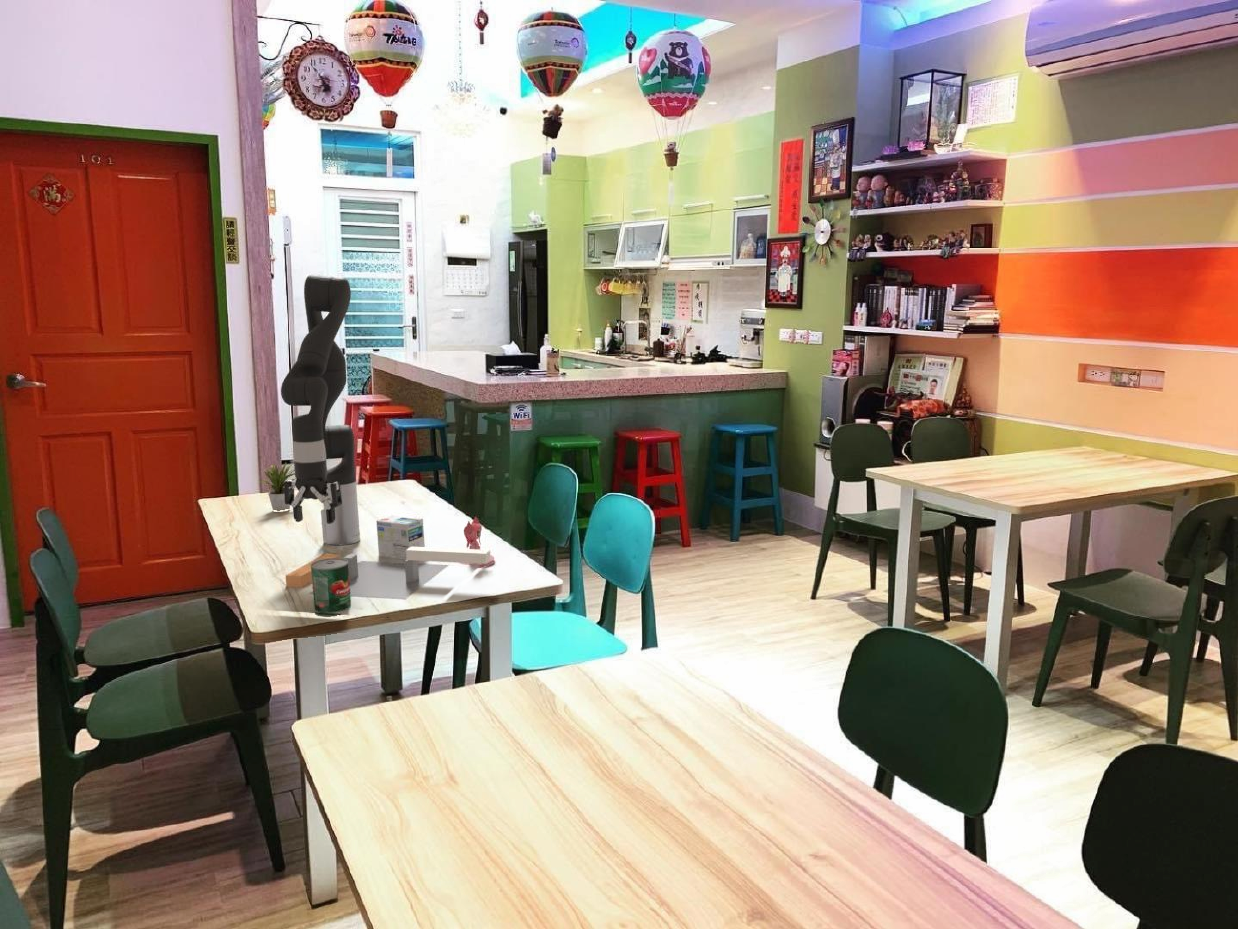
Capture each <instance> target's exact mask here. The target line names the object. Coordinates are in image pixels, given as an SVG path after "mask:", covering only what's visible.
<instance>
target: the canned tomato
mask: <svg viewBox="0 0 1238 929" xmlns="http://www.w3.org/2000/svg"><path fill="white" fill-rule="evenodd" d="M311 573H312V581H311V582H312V583H311V584H312V591H313V594H312V595H313V607H314V610H315V612H314V615H316V616H318V617H323V618H331V616H333V617H338V616H337V615H339V616H342V615H341V614H342V613H338V612H341V611H345V610H347V609H349V608H350V607H351V605H352V598H351V597H352V596H350V585H349V584H350V583H349V569H348V561H347V560H346V559H343V558H342V557H340V558H328V559H322V560H318V561H315V562H313V563H312V564H311ZM336 612H337V613H336Z"/></svg>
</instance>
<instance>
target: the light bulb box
mask: <svg viewBox="0 0 1238 929" xmlns="http://www.w3.org/2000/svg"><path fill="white" fill-rule="evenodd" d="M375 523H376V533H377V534H376V536H377V547H378V556H380V557H383V558H384V557H386V558H393V559H399V560H407V558H406V550H407V549H408V548H410V547H426V545H425V532H424V519H423V518H418V517H408V516H398V515H389V516H387V517H383V518H380V519H377V520H376V522H375Z"/></svg>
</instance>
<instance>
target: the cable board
mask: <svg viewBox="0 0 1238 929" xmlns="http://www.w3.org/2000/svg"><path fill="white" fill-rule="evenodd" d="M342 559H346V560H347V561H348V569H349V583H350V584H349V585H350V596H351V597H359V598H376V599H394V600H395V599H396V600H406V599H408V598H409V597H410V596H412V595H413V594H414V593H415V592H417V591H418V590H419V589H420V588H421V587H423V586H424V585H425V584H427V583H428V582H429V581H430V580H432V579H433V578H434V577H436V576H437V575H439V573H441V572H442V571H443V570H445V569H446V568H447V567H448V566H449V564H438V563H437V564H434V563H433V564H432V563H419V561H414V560H406V559H404V562H394V561H393V562H390V561H374V560H373V561H372V560H360V561H359V562H358V555H357V554H349V553H348V554H347V555H345V556H344V557H343V558H342ZM308 594H309V595H313V590H312V591H310V592H309V593H308Z"/></svg>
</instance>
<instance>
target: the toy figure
mask: <svg viewBox="0 0 1238 929" xmlns="http://www.w3.org/2000/svg"><path fill="white" fill-rule="evenodd" d="M463 535H464V538H465V540H466V542H467V543H466V549H476V550H482V549H481V545H482V544H481V536H482V525H481V523H480V520H479V519H478V517H477V516H475V517H474V519H473V520H472V522H470V521H469V520H468V521H467V524H466V526H464V529H463ZM459 564H461V565H467V566H475V565H476V566H477V565H479V566H477V569H480V568H485V567H489V566H491V565H494V564H495V557H494V556H493V555H491V554H490V561H489V562H488V563H487V564H476V563H459Z"/></svg>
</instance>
